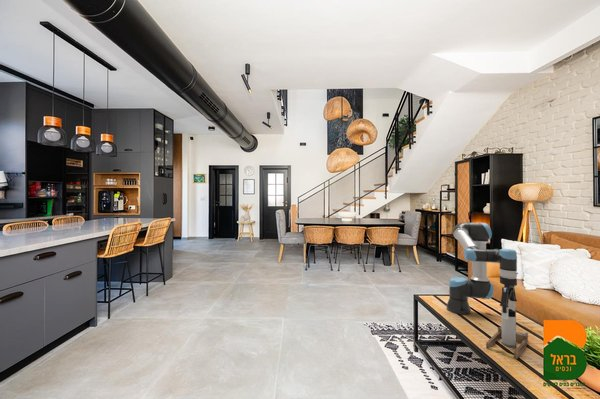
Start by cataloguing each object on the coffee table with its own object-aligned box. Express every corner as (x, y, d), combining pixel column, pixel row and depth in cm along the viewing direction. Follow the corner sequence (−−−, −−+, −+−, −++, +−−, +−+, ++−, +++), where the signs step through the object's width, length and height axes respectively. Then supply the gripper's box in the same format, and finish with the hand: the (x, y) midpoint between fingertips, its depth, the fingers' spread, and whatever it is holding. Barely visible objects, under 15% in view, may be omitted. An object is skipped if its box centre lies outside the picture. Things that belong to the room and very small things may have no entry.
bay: (486, 348, 141) (486, 338, 141) (501, 332, 158) (501, 324, 158) (516, 359, 131) (516, 349, 131) (529, 341, 148) (529, 332, 148)
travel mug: (498, 341, 147) (498, 306, 147) (509, 341, 148) (508, 306, 148) (508, 348, 141) (507, 311, 141) (519, 347, 141) (519, 310, 142)
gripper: (510, 282, 134) (510, 324, 134) (522, 275, 150) (522, 312, 149) (493, 279, 140) (493, 319, 139) (506, 272, 155) (506, 308, 155)
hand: (508, 315), depth 144 cm, fingers open, 13 cm apart
